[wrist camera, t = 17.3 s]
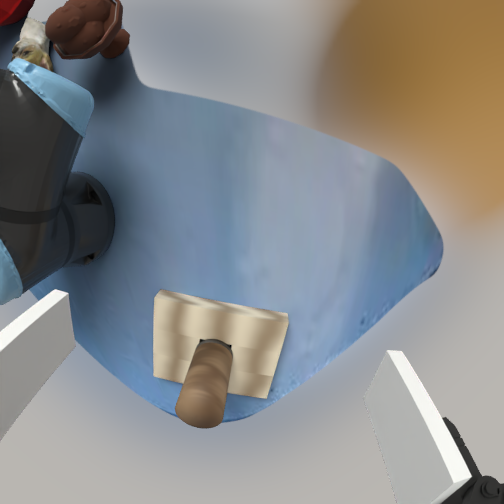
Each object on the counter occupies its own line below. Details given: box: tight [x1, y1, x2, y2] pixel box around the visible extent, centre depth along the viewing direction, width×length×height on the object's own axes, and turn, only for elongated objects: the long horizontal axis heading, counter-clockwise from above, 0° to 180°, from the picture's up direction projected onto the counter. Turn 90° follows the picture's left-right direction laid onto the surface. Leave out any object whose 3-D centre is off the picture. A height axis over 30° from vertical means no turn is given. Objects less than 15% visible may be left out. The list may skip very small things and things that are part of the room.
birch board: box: [153, 289, 289, 399], centre depth 46 cm, size 20×16×3 cm
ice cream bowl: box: [45, 0, 130, 59], centre depth 26 cm, size 11×11×15 cm
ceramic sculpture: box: [11, 18, 53, 72], centre depth 30 cm, size 11×9×15 cm
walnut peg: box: [175, 339, 233, 428], centre depth 39 cm, size 6×6×16 cm
